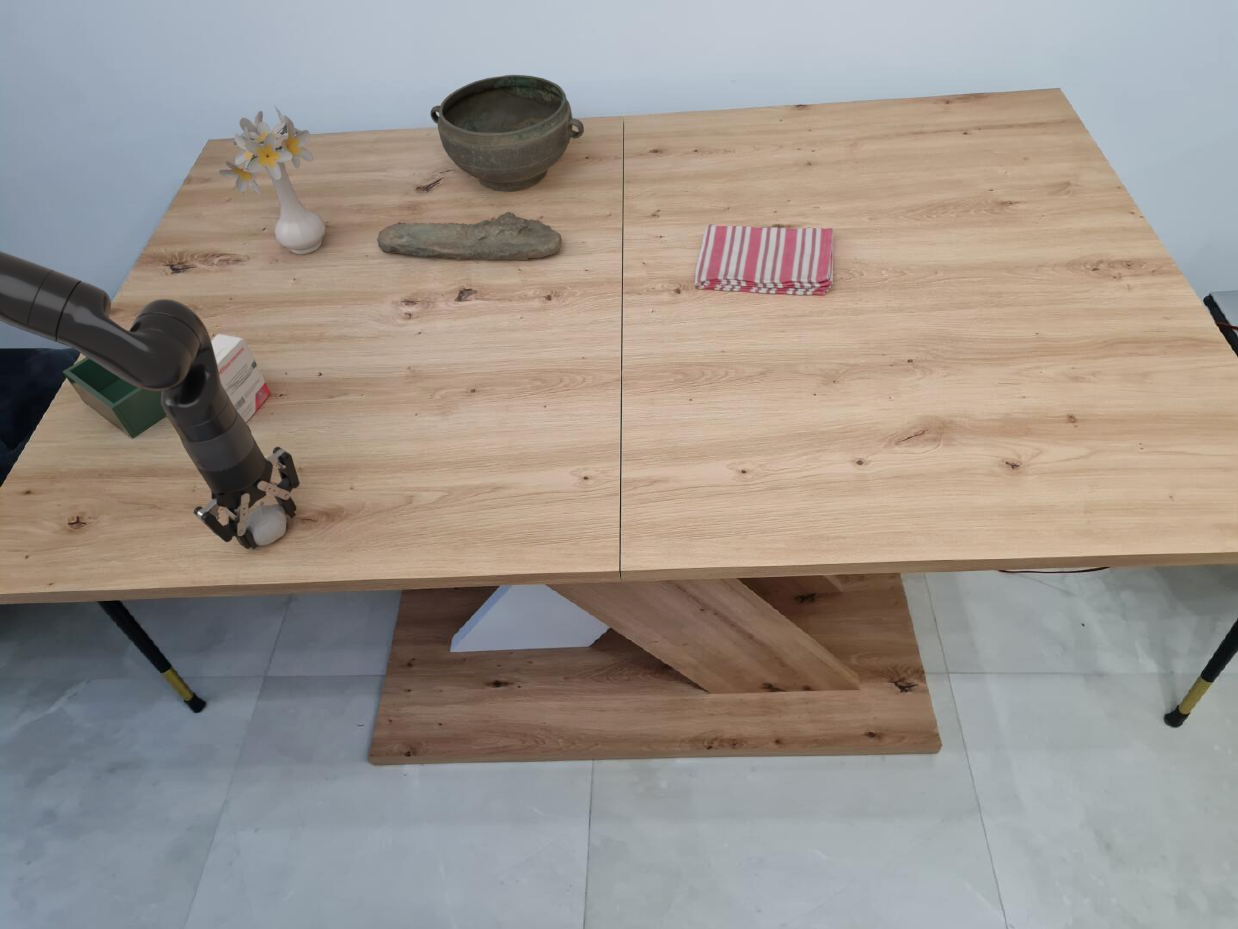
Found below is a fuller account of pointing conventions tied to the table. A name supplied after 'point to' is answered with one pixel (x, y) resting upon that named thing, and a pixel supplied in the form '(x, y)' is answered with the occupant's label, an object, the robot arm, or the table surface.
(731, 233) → the dish towel
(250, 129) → the flower vase
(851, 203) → the table surface
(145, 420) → the green tapered tray
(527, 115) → the bowl
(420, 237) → the elongated rock
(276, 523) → the garlic
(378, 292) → the table surface
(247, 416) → the ink box
